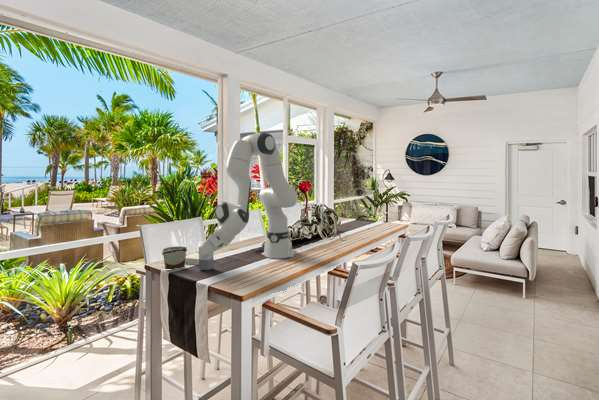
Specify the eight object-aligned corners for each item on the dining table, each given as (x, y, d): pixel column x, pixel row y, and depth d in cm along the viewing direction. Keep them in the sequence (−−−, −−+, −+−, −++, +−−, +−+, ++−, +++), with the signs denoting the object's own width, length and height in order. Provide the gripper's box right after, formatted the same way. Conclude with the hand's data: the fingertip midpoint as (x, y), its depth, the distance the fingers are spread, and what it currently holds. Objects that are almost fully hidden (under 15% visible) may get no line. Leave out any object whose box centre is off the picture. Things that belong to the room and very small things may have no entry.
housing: (204, 266, 173) (204, 244, 172) (213, 267, 172) (213, 245, 171) (199, 269, 168) (198, 247, 167) (208, 270, 167) (207, 247, 166)
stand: (194, 258, 191) (194, 252, 191) (212, 259, 188) (212, 254, 188) (182, 263, 181) (182, 257, 180) (201, 265, 178) (201, 259, 177)
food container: (181, 264, 179) (181, 245, 178) (187, 266, 174) (187, 247, 174) (157, 268, 170) (157, 248, 169) (163, 271, 166) (162, 250, 165)
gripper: (228, 228, 176) (211, 246, 180) (207, 236, 157) (188, 256, 160) (236, 237, 175) (219, 255, 179) (216, 246, 156) (197, 266, 159)
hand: (205, 255), depth 170 cm, fingers closed on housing, 5 cm apart
